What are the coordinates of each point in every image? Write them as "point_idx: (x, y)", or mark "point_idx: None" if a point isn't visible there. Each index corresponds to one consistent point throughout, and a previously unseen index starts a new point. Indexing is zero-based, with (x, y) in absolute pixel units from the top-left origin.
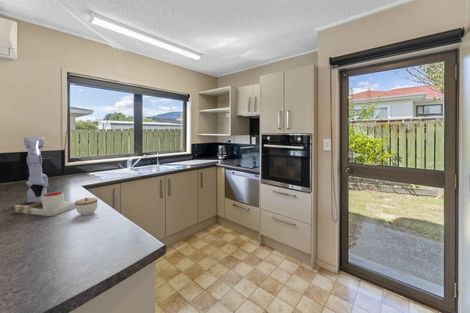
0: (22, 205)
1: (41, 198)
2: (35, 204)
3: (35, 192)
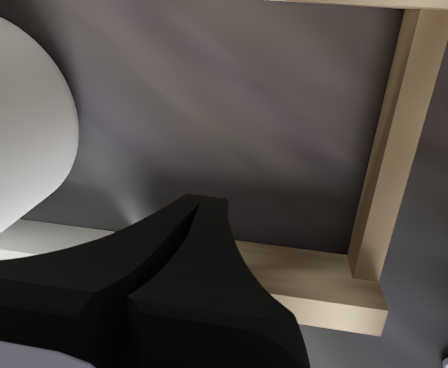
0: (336, 1)
1: (378, 334)
2: (365, 218)
3: (165, 227)
